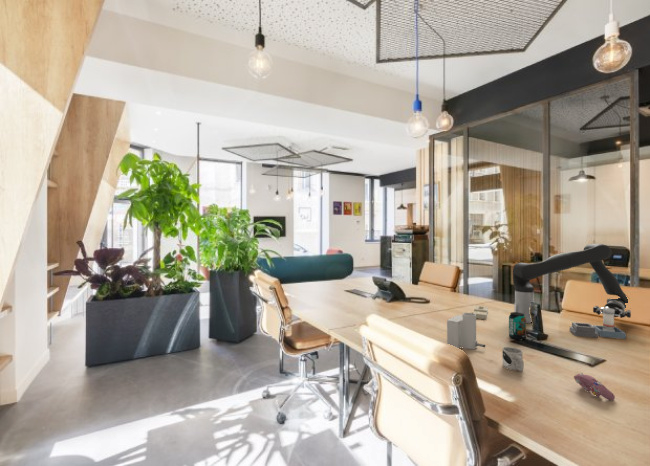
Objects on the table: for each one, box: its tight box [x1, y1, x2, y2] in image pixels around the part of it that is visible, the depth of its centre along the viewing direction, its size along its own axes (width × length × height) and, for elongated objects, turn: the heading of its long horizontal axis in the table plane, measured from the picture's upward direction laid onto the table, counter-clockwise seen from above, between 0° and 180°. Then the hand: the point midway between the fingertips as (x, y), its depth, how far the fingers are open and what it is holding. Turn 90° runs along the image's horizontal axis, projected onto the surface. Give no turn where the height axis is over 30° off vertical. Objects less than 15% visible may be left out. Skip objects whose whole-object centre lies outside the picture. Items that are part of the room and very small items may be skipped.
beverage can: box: [508, 311, 527, 341], centre depth 154 cm, size 7×7×12 cm
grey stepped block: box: [446, 312, 486, 350], centre depth 144 cm, size 12×14×15 cm
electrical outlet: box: [473, 305, 489, 320], centre depth 196 cm, size 7×4×18 cm
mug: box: [502, 346, 525, 372], centre depth 121 cm, size 10×7×7 cm
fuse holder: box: [569, 321, 599, 339], centre depth 159 cm, size 9×9×4 cm
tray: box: [592, 325, 627, 340], centre depth 157 cm, size 10×10×3 cm
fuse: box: [602, 308, 615, 332], centre depth 157 cm, size 4×4×12 cm
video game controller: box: [573, 372, 616, 401], centre depth 102 cm, size 10×5×7 cm, turn 6°
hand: (609, 314), depth 158 cm, fingers open, 8 cm apart
